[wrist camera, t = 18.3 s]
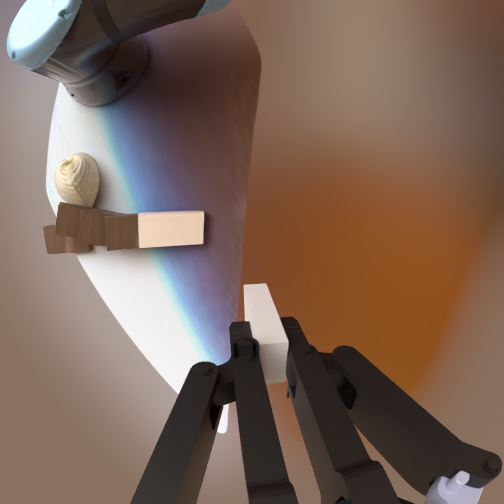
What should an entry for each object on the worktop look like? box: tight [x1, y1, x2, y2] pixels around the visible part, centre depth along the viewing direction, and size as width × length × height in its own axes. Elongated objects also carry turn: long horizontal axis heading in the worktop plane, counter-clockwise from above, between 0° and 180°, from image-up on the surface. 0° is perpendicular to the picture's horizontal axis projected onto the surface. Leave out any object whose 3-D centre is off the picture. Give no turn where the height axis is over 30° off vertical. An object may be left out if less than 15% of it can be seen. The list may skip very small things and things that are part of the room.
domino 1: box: [55, 202, 116, 238], centre depth 37 cm, size 2×5×10 cm
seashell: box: [55, 153, 100, 208], centre depth 36 cm, size 8×8×8 cm
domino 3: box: [78, 210, 125, 246], centre depth 38 cm, size 2×5×10 cm
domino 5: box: [138, 211, 204, 248], centre depth 40 cm, size 2×5×10 cm
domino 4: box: [105, 214, 139, 251], centre depth 39 cm, size 2×5×10 cm
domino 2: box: [43, 225, 93, 254], centre depth 40 cm, size 2×5×10 cm
